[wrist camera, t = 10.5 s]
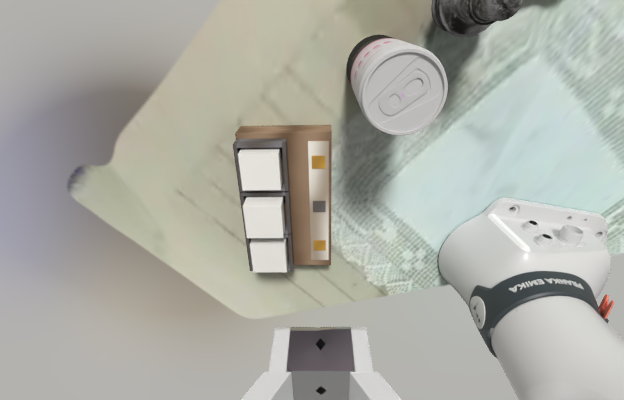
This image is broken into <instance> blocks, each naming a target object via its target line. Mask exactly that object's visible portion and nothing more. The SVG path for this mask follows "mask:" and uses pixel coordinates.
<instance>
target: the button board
mask: <svg viewBox="0 0 624 400" xmlns="http://www.w3.org/2000/svg"><path fill="white" fill-rule="evenodd" d="M235 135H236V141H235V142H234V144H233V149H234V156H235V164H236V171H237V178H238V186H239V192H240V200H241V208H242V215H243V222H244V230H245V237H246V244H247V252H248V259H249V266H250V271H253V266H252V258H251V251H250V242H251V239H252V238H247V235H246V227H245V220H244V212H243V204H244V202H245V200H246V197H247V196H283V200H284V215H285V232H284V238H287V246H288V268H287V271H293V267H294V265H331V125H295V126H241V127H240V128H239V129H238V131H237V132H236V133H235ZM277 147H281V157H282V172H283V183H282V188H281V190H245V191H243V190H242V182H241V175H240V167H239V159H238V153H239V151H240V150H241V148H277Z"/></svg>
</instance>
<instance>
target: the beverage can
mask: <svg viewBox="0 0 624 400" xmlns="http://www.w3.org/2000/svg"><path fill="white" fill-rule="evenodd" d="M347 76H348V79H349V82H350V84H351V87H352V89H353V91H354V94H355V96H356V98H357V101H358V103H359V106H360V108H361V110H362V113H363V115H364V116H365V118H366V119H367V121H368V122H369V123H370V124H371V125H372V126H373V127H375V128H376V129H378V130H380V131H382V132H385V133H388V134H391V135H408V134H412V133H415V132H418V131H420V130H422V129H423V128H425V127H426V126H428V125H429V124H430V123H431V122H432V121H433V120H434V119H435V118H436V117H437V116H438V114H439V113H440V111H441V110H442V108H443V106H444V103H445V101H446V97H447V91H448V83H447V77H446V73H445V70H444V68H443V66H442V64H441V62H440V61H439V59H438V58H437V57H436V56H435V55H434V54H433V53H431V52H430V51H428V50H427V49H425V48H422V47H419V46H416V45H413V44H410V43H407V42H404V41H401V40H398V39H395V38H392V37H389V36H385V35H373V36H370V37H367V38H365V39H363V40H362V41H360V42H359V43H358V44H357V45H356V46H355V47H354V49H353V50H352V52H351V54H350V56H349V58H348V62H347Z"/></svg>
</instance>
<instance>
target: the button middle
mask: <svg viewBox="0 0 624 400" xmlns="http://www.w3.org/2000/svg"><path fill="white" fill-rule="evenodd" d="M243 212H244V220H245V227H246V235H247V238H284V232H285V215H284V200H283V196H247V197H246V200H245V202H244V204H243Z"/></svg>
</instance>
